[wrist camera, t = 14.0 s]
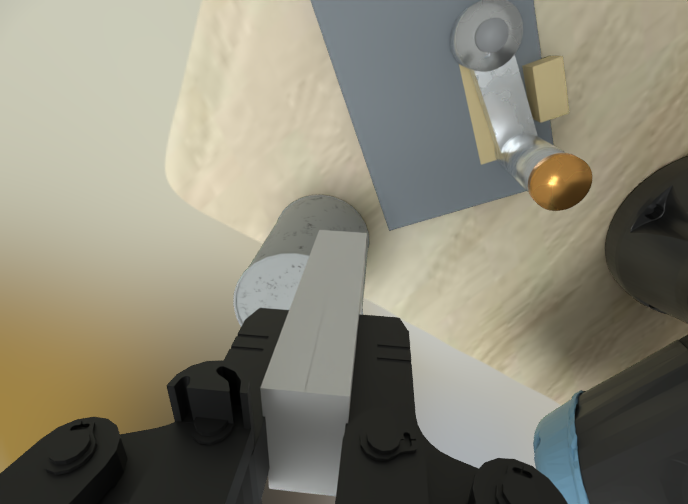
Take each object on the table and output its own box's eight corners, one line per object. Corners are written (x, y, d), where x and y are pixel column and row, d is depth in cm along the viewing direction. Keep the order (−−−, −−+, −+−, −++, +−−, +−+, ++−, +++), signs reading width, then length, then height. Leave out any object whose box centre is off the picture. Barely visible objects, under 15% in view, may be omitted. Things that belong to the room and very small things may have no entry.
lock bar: (440, 21, 29) (464, 9, 20) (501, -11, 28) (553, -39, 19) (494, 177, 34) (531, 221, 25) (547, 155, 33) (606, 194, 24)
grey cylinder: (354, 290, 42) (343, 375, 31) (267, 266, 42) (225, 343, 31) (381, 210, 38) (379, 275, 27) (284, 182, 37) (243, 236, 26)
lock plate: (560, 175, 35) (588, 195, 30) (389, 225, 38) (389, 250, 34) (512, -176, 25) (542, -230, 20) (290, -64, 29) (271, -87, 24)
